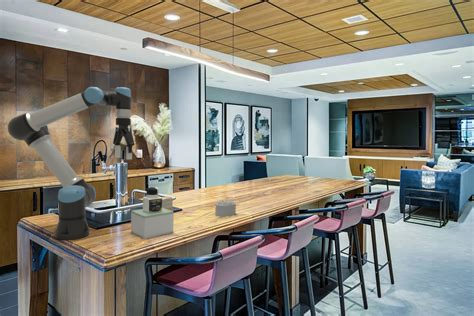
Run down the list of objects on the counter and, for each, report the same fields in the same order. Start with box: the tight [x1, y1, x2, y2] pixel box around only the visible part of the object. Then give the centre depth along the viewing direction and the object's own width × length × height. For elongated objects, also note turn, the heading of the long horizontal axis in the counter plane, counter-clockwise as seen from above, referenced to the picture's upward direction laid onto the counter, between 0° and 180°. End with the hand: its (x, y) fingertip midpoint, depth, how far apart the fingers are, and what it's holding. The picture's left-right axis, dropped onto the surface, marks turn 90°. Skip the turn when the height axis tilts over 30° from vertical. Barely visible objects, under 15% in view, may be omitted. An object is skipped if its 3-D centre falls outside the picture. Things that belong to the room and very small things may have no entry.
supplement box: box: [161, 196, 174, 212], centre depth 197 cm, size 8×5×13 cm, turn 141°
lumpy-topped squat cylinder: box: [214, 199, 237, 218], centre depth 213 cm, size 10×13×9 cm
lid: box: [130, 208, 175, 218], centre depth 171 cm, size 16×14×1 cm
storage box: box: [130, 213, 174, 240], centre depth 172 cm, size 16×14×10 cm
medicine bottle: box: [142, 186, 162, 213], centre depth 171 cm, size 7×7×12 cm
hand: (123, 158), depth 178 cm, fingers open, 13 cm apart
